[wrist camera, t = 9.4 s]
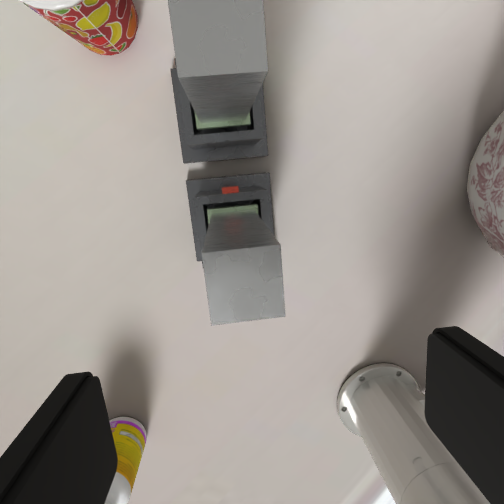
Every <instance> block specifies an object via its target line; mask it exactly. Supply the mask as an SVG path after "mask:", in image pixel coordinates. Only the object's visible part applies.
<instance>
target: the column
mask: <svg viewBox="0 0 504 504" xmlns="http://www.w3.org/2000/svg"><path fill="white" fill-rule="evenodd" d="M207 214H208V222H209V226H208V230H207V234H206V238H205V242H204V245H203V249H202V260H203V268H204V275H205V283H206V290H207V297H208V305H209V312H210V320H211V326H212V325H220V324H228V323H236V322H244V321H253V320H261V319H269V318H277V317H285V302H284V288H283V274H282V259H281V245H280V243H279V242H278V241H277V239H276V238H275V237H274V235H273V234H272V233H271V231H270V230H269V229H268V227H267V226H266V225H265V223H264V222H263V221H262V219H261V218H260V217H259V215H258V205H257V204H247V205H237V206H227V207H217V208H207Z"/></svg>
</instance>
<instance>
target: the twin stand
mask: <svg viewBox="0 0 504 504" xmlns="http://www.w3.org/2000/svg"><path fill="white" fill-rule="evenodd" d="M168 5H169V13H170V20H171V28H172V35H173V43H174V50H175V64H176V68H175V69H171V77H172V84H173V91H174V98H175V105H176V113H177V120H178V127H179V134H180V142H181V149H182V156H183V163H195V162H206V161H216V160H227V159H238V158H249V157H260V156H268V147H267V134H266V121H265V107H264V94H263V81H264V79H265V77H266V74H267V72H268V63H267V48H266V34H265V20H264V6H263V0H168Z"/></svg>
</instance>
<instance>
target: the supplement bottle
mask: <svg viewBox="0 0 504 504" xmlns="http://www.w3.org/2000/svg"><path fill="white" fill-rule="evenodd" d="M109 422H110V426H111V430H112V435H113V439H114V443H115V448H116V452H117V457H118V464H117V470H116V474H115V476H114V479H113V482H112V484H111V487H110V490H109V493H108V495H107V498H106V501H105V504H128V501H129V499H130V495H131V492H132V488H133V485H134V481H135V478H136V474H137V471H138V467H139V464H140V461H141V457H142V454H143V450H144V447H145V443H146V438H147V435H146V430H145V428H144V427H143V425H142V424H141V423H140V422H139V421H137V420H135V419H133V418H130V417H117V418H114V419H111V420H110V421H109Z"/></svg>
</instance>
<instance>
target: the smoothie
mask: <svg viewBox="0 0 504 504" xmlns="http://www.w3.org/2000/svg"><path fill="white" fill-rule="evenodd" d="M19 1H21V2H23V3H24V4H25V5H27V6H28V7H30V8H31V9H32V10H34V11H35V12H37V13H38V14H40V15H41V16H42V17H44V18H45V19H47V20H48V21H50V22H51V23H52V24H54V25H55V26H57V27H58V28H59V29H61V30H62V31H64V32H65V33H67V34H68V35H69V36H71V37H72V38H74V39H75V40H77V41H78V42H79V43H81V44H82V45H84V46H85V47H87V48H88V49H89V50H91V51H93V52H96V53H98V54H100V55H114V54H118V53H121V52H122V51H124V50H125V49H127V48H128V47H129V46H130V44H131V43H132V41H133V40H134V38H135V35H136V32H137V28H138V25H137V13H136V10H135V7H134V4H133V2H132V0H19Z"/></svg>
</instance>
